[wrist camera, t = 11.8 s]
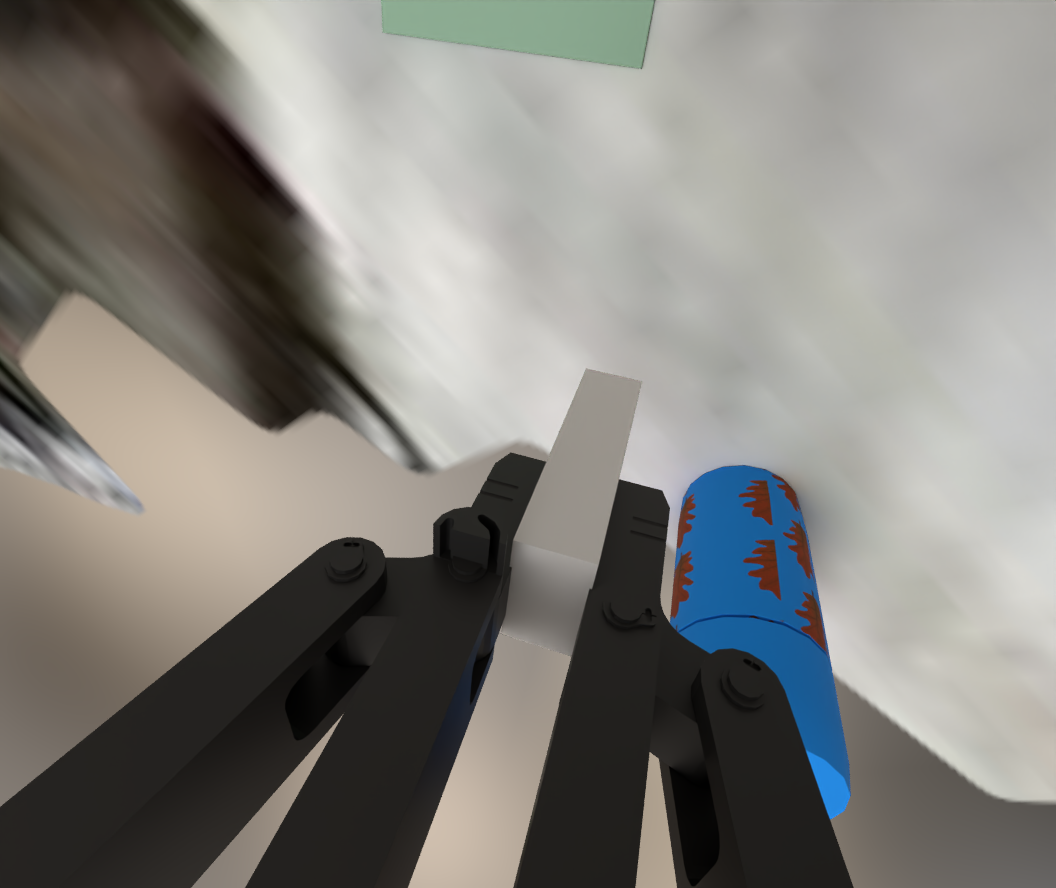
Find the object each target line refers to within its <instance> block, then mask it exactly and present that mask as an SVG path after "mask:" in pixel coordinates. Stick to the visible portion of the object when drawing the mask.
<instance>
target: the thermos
mask: <svg viewBox="0 0 1056 888" xmlns="http://www.w3.org/2000/svg"><path fill="white" fill-rule="evenodd" d="M670 624H671V625H672V626H673V627H674V629H675V630H676V631H677V632H678V633H679V634H681V635H682V636H684V637H685V638H686V639H688V640H689V641H691V642H692V643H694V644H695V645H697V646H699V647H700V648H702V649H704V650H705V651H707V652H708V653H710V654H711V653H713V652H715V651H716V650H718V649H729V648H734V649H737V650H741V651H745V652H748V653H750V654H752V655H753V656H755V657H757V658H758V659H760V660H762V661H763V662H765V664H766V665H767V666H768V667H769V668H770V669H771V670H772V671H773V672H774V673H775V674H776V675H777V677H778V678H779V680H780V682H781V684H782V686H783V688H784V689H785V692H786V695H787V698H788V701H789V703H790V706H791V709H792V712H793V715H794V718H795V721H796V724H797V726H798V729H799V732H800V735H801V738H802V741H803V744H804V747H805V749H806V752H807V755H808V758H809V761H810V764H811V767H812V770H813V772H814V775H815V778H816V781H817V784H818V787H819V790H820V793H821V795H822V798H823V801H824V804H825V807H826V810H827V813H828V816H829V818H830V819H832V818H833V817H835V816H837V815H838V814H840V813H842V812H843V811H844V810H845V808H846V806H847V803H848V800H849V798H850V796H851V793H850V772H849V760H848V755H847V750H846V744H845V739H844V733H843V727H842V722H841V717H840V711H839V706H838V701H837V695H836V689H835V684H834V678H833V673H832V667H831V661H830V656H829V650H828V645H827V639H826V634H825V628H824V623H823V617H822V612H821V606H820V601H819V595H818V590H817V584H816V579H815V573H814V568H813V562H812V557H811V551H810V546H809V540H808V535H807V532H806V528H805V524H804V521H803V517H802V513H801V510H800V506H799V503H798V500H797V497H796V493H795V492H794V490H793V489H792V488H791V487H790V486H789V485H788V484H787V483H786V482H785V481H784V479H782V478H780V477H778V476H776V475H775V474H773V473H771V472H769V471H767V470H765V469H760V468H755V467H750V466H745V465H743V466H729V467H721V468H718V469H716V470H713V471H710V472H707V473H705V474H703V475H702V476H701V477H699V478H698V479H697V480H696V481H694V482H693V483H692V484H691V485H690V487H689V488H688V490H687V492H686V494H685V496H684V498H683V502H682V508H681V514H680V519H679V526H678V538H677V549H676V561H675V572H674V584H673V596H672V607H671V617H670Z"/></svg>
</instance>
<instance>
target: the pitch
mask: <svg viewBox="0 0 1056 888" xmlns="http://www.w3.org/2000/svg"><path fill="white" fill-rule="evenodd" d="M654 2H655V0H381V4H382V28H383V33H391V34H398V35H405V36H412V37H419V38H426V39H433V40H441V41H448V42H455V43H462V44H469V45H476V46H483V47H491V48H498V49H505V50H512V51H519V52H526V53H533V54H540V55H548V56H555V57H562V58H569V59H576V60H583V61H590V62H598V63H605V64H612V65H619V66H626V67H633V68H640V69H642V65H643V59H644V54H645V49H646V44H647V38H648V33H649V28H650V23H651V17H652V12H653V7H654Z"/></svg>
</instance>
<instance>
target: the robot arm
mask: <svg viewBox="0 0 1056 888" xmlns="http://www.w3.org/2000/svg"><path fill="white" fill-rule="evenodd" d="M641 384H642V381H638V380H634V379H629V378H625V377H621V376H616V375H612V374H608V373H603V372H599V371H595V370H590V369H586V370H585V372H584V375H583V377H582V380H581V382H580V384H579V387H578V389H577V391H576V394H575V396H574V398H573V401H572V403H571V405H570V408H569V410H568V412H567V415H566V417H565V419H564V422H563V424H562V427H561V429H560V431H559V434H558V436H557V438H556V441H555V443H554V445H553V448H552V450H551V452H550V455H549V457H548V459H547V462H545V461H541V460H537V459H534V458H530V457H526V456H522V455H518V454H514V453H510V454H508V455H507V456H505V457H504V458H502V459H501V460H499V461H498V462H496V463H495V465H494V467H493V468H492V470H491V472H490V474H489V476H488V477H487V481H486V482H485V483H484V485H483V487H482V489H481V491H480V493H479V494H478V496H477V497H476V499H475V501H474V503H473V505H472V507H466V508H459V509H453V510H451V511H449V512H447V513H445V514H443V515H441V517H439V519H437V521H436V522H435V523H434V524H433V526H434V527H433V536H434V537H433V554H432V555H428V556H424V557H416V558H385V556H384V553H383V551H382V549H381V548H380V547H379V546H377V545H376V544H375V543H374V542H372V541H369V540H366V539H363V538H354V537H353V538H351V537H346V538H342V539H338V540H334V541H331V542H330V543H328V544H326V545H325V546H323V547H321V548H319V549H318V550H317V551H316V552H315V553H313V554H312V555H311V556H309V557H308V558H307V559H306V560H305V561H304V562H302V563H301V564H300V565H298V566H297V567H296V568H295V569H293V570H292V571H291V572H290V573H288V574H287V575H286V576H285V577H284V578H282V579H281V580H280V581H279V582H277V583H276V584H275V585H274V586H272V587H271V588H270V589H269V590H267V591H266V592H265V593H264V594H263V595H261V596H260V597H259V598H258V599H256V600H255V601H254V602H253V603H251V604H250V605H249V606H248V607H246V608H245V609H244V610H243V611H242V612H240V613H239V614H238V615H237V616H235V617H234V618H233V619H232V620H231V621H229V622H228V623H227V624H225V625H224V626H223V627H222V628H221V629H219V630H218V631H217V632H216V633H214V634H213V635H212V636H211V637H209V638H208V639H207V640H206V641H204V642H203V643H202V644H201V645H200V646H198V647H197V648H196V649H195V650H193V651H192V652H191V653H190V654H188V655H187V656H186V657H185V658H183V659H182V660H181V661H180V662H179V663H177V664H176V665H175V666H174V667H172V668H171V669H170V670H169V671H167V672H166V673H165V674H164V675H162V676H161V677H160V678H159V679H158V680H156V681H155V682H154V683H153V684H151V685H150V686H149V687H148V688H146V689H145V690H144V691H143V692H141V693H140V694H139V695H138V696H137V697H135V698H134V699H133V700H132V701H130V702H129V703H128V704H127V705H125V706H124V707H123V708H122V709H121V710H119V711H118V712H117V713H116V714H114V715H113V716H112V717H111V718H109V719H108V720H107V721H106V722H104V723H103V724H102V725H101V726H100V727H98V728H97V729H96V730H95V731H93V732H92V733H91V734H90V735H88V736H87V737H86V738H85V739H84V740H82V741H81V742H80V743H79V744H77V745H76V746H75V747H74V748H72V749H71V750H70V751H69V752H67V753H66V754H65V755H64V756H62V757H61V758H60V759H59V760H57V761H56V762H55V763H54V764H53V765H51V766H50V767H49V768H48V769H46V770H45V771H44V772H43V773H41V774H40V775H39V776H38V777H36V778H35V779H34V780H33V781H32V782H30V783H29V784H28V785H27V786H25V787H24V788H23V789H22V790H21V791H19V792H18V793H17V794H16V795H14V796H13V797H12V798H11V799H9V800H8V801H7V802H6V803H4V804H3V805H2V806H1V807H0V888H191V887H192V886H193V885H194V883H195V882H196V881H197V880H198V879H199V878H200V877H201V875H202V874H203V873H204V872H205V871H206V870H207V869H208V868H209V866H210V865H211V864H212V863H213V862H214V861H215V860H216V858H217V857H218V856H219V855H220V854H221V853H222V852H223V851H224V849H225V848H226V847H227V846H228V845H229V844H230V842H231V841H232V840H233V839H234V838H235V837H236V836H237V835H238V833H239V832H240V831H241V830H242V829H243V828H244V826H245V825H246V824H247V823H248V822H249V821H250V820H251V819H252V817H253V816H254V815H255V814H256V813H257V812H258V811H259V809H260V808H261V807H262V806H263V805H264V803H266V801H267V800H268V799H269V798H270V797H271V796H272V794H273V793H274V792H275V791H276V790H277V789H278V788H279V787H280V786H281V784H282V783H283V782H284V781H285V780H286V779H287V777H288V776H289V775H290V774H291V773H292V772H293V771H294V769H295V768H296V767H297V766H298V765H299V764H300V763H301V762H302V760H303V759H304V758H305V757H306V756H307V755H308V754H309V752H310V751H311V750H312V749H313V748H314V747H315V746H316V744H317V743H318V742H319V741H320V740H321V739H322V738H323V736H324V735H325V734H326V733H327V732H328V731H329V729H330V728H331V727H332V726H333V725H334V724H335V723H336V722H337V720H338V719H339V718H340V717H341V716H342V715H343V716H342V718H341V720H340V722H339V723H338V725H337V727H336V728H335V730H334V732H333V734H332V736H331V737H330V739H329V741H328V743H327V744H326V746H325V748H324V750H323V752H322V753H321V755H320V757H319V758H318V760H317V762H316V764H315V766H314V767H313V769H312V771H311V773H310V775H309V776H308V778H307V780H306V781H305V783H304V785H303V787H302V789H301V790H300V792H299V794H298V796H297V797H296V799H295V801H294V803H293V804H292V806H291V808H290V810H289V811H288V813H287V815H286V817H285V818H284V820H283V822H282V824H281V825H280V827H279V829H278V831H277V833H276V834H275V836H274V838H273V840H272V841H271V843H270V845H269V847H268V848H267V850H266V852H265V854H264V855H263V857H262V859H261V861H260V862H259V864H258V866H257V868H256V869H255V871H254V873H253V875H252V877H251V878H250V880H249V882H248V884H247V886H246V887H245V888H408V886H409V883H410V880H411V878H412V875H413V872H414V869H415V867H416V864H417V861H418V859H419V856H420V853H421V851H422V848H423V845H424V842H425V840H426V837H427V835H428V832H429V829H430V826H431V824H432V821H433V818H434V816H435V813H436V810H437V808H438V805H439V802H440V800H441V797H442V794H443V791H444V789H445V786H446V783H447V781H448V778H449V775H450V773H451V770H452V767H453V765H454V762H455V759H456V757H457V754H458V751H459V748H460V746H461V743H462V740H463V738H464V735H465V732H466V730H467V727H468V724H469V722H470V719H471V716H472V714H473V711H474V708H475V706H476V703H477V700H478V697H479V695H480V692H481V689H482V687H483V684H484V681H485V678H486V676H487V673H488V671H489V668H490V665H491V663H492V660H493V653H494V645H495V642H496V639H497V637H498V634H499V631H500V628H501V626H502V630H501V634H502V635H506V636H509V637H512V638H515V639H518V640H521V641H524V642H528V643H531V644H534V645H537V646H541V647H543V648H547V649H550V650H553V651H556V652H559V653H562V654H565V655H568V656H572V657H571V661H570V665H569V669H568V672H567V677H566V680H565V684H564V687H563V691H562V695H561V698H560V702H559V708H558V711H557V716H556V720H555V724H554V727H553V731H552V735H551V739H550V743H549V747H548V751H547V756H546V760H545V763H544V767H543V772H542V775H541V779H540V783H539V788H538V792H537V795H536V799H535V803H534V807H533V812H532V816H531V819H530V823H529V827H528V832H527V835H526V840H525V843H524V847H523V851H522V855H521V859H520V863H519V867H518V872H517V876H516V880H515V883H514V887H513V888H635V886H636V876H637V865H638V856H639V847H640V837H641V828H642V818H643V809H644V798H645V789H646V780H647V771H648V761H649V752H651V753H652V754H653V755H655V756H656V757H658V758H659V762H660V769H661V777H662V783H663V791H664V798H665V804H666V812H667V819H668V826H669V833H670V840H671V847H672V854H673V862H674V869H675V875H676V883H677V888H853V885H852V882H851V879H850V876H849V873H848V871H847V868H846V865H845V862H844V860H843V856H842V853H841V850H840V847H839V844H838V842H837V839H836V836H835V833H834V830H833V827H832V824H831V821H830V818H829V816H828V813H827V810H826V807H825V804H824V801H823V798H822V795H821V793H820V790H819V787H818V784H817V781H816V778H815V775H814V772H813V770H812V767H811V764H810V761H809V758H808V755H807V752H806V749H805V747H804V744H803V741H802V738H801V735H800V732H799V729H798V726H797V724H796V721H795V718H794V715H793V712H792V709H791V706H790V703H789V701H788V698H787V695H786V692H785V689H784V688H783V686H782V684H781V682H780V680H779V678H778V677H777V675H776V674H775V673H774V672H773V671H772V670H771V669H770V668H769V667H768V666H767V665H766V664H765V662H763V661H762V660H760V659H758V658H757V657H755V656H753V655H752V654H750V653H748V652H745V651H741V650H737V649H734V648H729V649H718V650H716V651H715V652H713V653H711V654H710V653H708V652H707V651H705V650H704V649H702V648H700V647H699V646H697V645H695V644H694V643H692V642H691V641H689V640H688V639H686V638H685V637H684V636H682V635H681V634H679V633H678V632H677V631H676V630H675V629H674V627H673V626H672V625H671V624H670V623H669V621H668V620H667V618H666V616H665V615H664V613H663V610H662V607H661V601H660V593H661V584H662V575H663V565H664V557H665V548H666V539H667V530H668V529H667V527H668V520H669V511H670V507H669V505H668V503H667V501H666V498H665V496H664V494H663V491H662V490H658V489H654V488H650V487H646V486H642V485H639V484H635V483H631V482H627V481H623V480H619V477H620V473H621V468H622V464H623V460H624V456H625V452H626V447H627V443H628V439H629V435H630V430H631V426H632V422H633V418H634V414H635V409H636V405H637V401H638V397H639V393H640V388H641ZM344 712H345V713H344Z"/></svg>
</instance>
